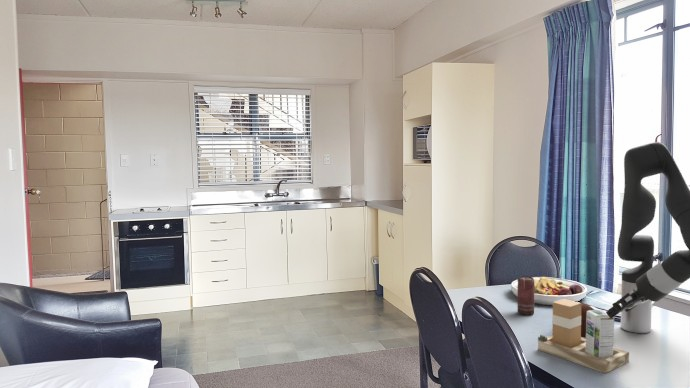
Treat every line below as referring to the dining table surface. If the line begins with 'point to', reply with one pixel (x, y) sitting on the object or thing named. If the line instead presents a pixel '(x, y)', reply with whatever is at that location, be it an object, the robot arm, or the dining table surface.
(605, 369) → the pallet
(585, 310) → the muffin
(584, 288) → the bowl
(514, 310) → the dining table surface
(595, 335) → the syrup box
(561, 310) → the tan cardboard box
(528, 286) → the can
